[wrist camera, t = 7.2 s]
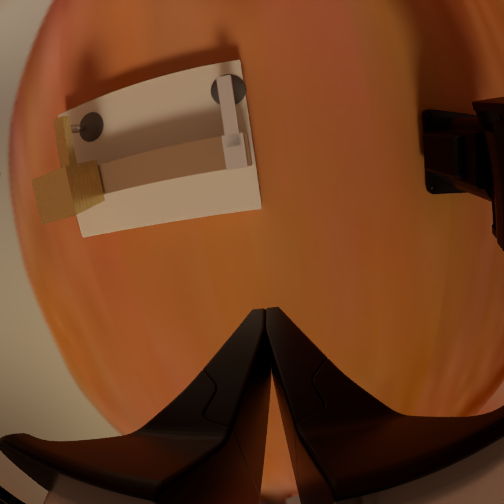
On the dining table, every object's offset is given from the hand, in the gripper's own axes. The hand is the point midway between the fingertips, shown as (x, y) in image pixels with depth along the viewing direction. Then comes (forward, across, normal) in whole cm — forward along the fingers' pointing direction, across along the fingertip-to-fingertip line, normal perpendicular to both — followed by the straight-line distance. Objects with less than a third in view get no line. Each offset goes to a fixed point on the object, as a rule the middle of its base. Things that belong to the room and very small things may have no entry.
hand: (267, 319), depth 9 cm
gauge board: (+12, +7, -6) cm, 15 cm away
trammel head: (+11, +11, -7) cm, 17 cm away
